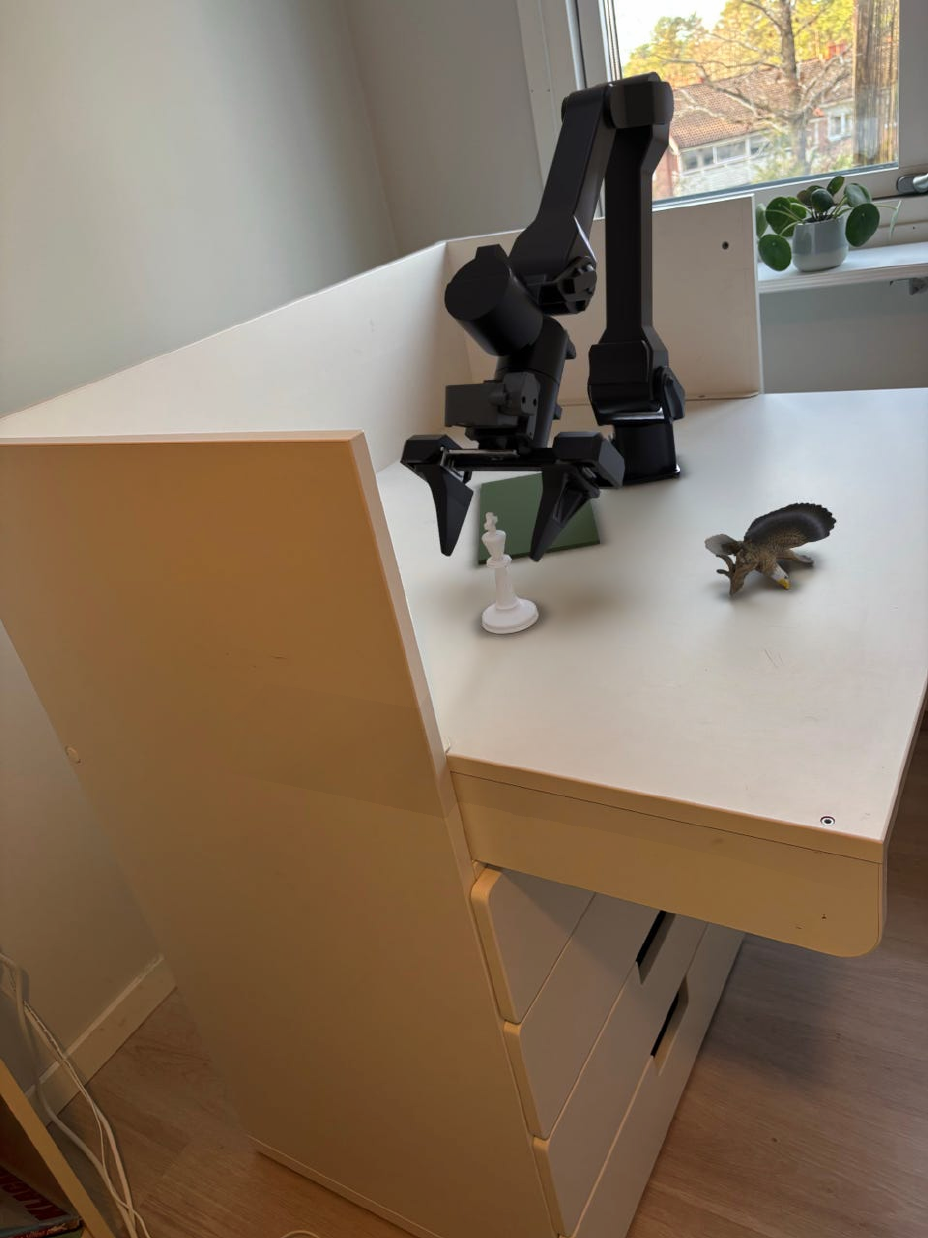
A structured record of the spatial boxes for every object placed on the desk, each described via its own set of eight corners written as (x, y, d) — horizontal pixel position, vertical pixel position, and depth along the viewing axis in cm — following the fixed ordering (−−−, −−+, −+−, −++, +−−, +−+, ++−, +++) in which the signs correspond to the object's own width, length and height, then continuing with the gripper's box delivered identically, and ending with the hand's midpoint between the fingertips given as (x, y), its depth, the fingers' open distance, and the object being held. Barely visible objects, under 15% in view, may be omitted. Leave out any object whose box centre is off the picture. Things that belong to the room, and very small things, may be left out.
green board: (581, 468, 110) (581, 465, 109) (600, 543, 90) (599, 539, 90) (482, 486, 111) (481, 483, 111) (478, 564, 92) (478, 560, 91)
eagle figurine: (785, 604, 71) (858, 541, 74) (731, 529, 71) (806, 469, 74) (731, 622, 78) (799, 564, 81) (681, 553, 78) (751, 498, 81)
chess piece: (546, 606, 81) (527, 500, 76) (526, 635, 77) (504, 526, 73) (495, 604, 83) (474, 501, 79) (473, 632, 80) (449, 526, 75)
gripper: (385, 343, 77) (341, 519, 74) (590, 325, 67) (549, 527, 65) (452, 404, 87) (415, 563, 84) (641, 396, 77) (607, 576, 74)
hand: (488, 557), depth 76 cm, fingers open, 8 cm apart
